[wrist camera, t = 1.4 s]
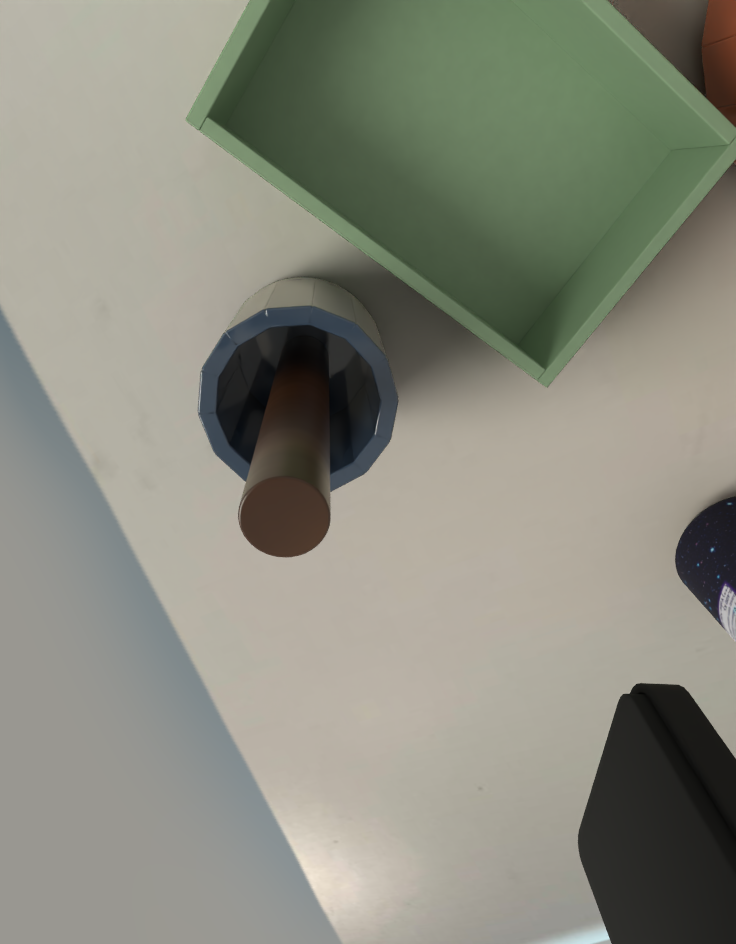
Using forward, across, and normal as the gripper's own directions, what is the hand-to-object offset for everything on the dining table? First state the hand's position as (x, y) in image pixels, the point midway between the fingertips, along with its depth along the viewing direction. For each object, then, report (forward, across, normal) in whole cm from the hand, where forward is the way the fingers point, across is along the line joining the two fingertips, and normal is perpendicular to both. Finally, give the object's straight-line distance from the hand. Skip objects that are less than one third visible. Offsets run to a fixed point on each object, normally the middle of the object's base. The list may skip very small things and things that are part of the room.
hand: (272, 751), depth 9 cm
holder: (+21, 0, 0) cm, 21 cm away
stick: (+20, 0, 0) cm, 20 cm away
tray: (+21, -5, -9) cm, 23 cm away
